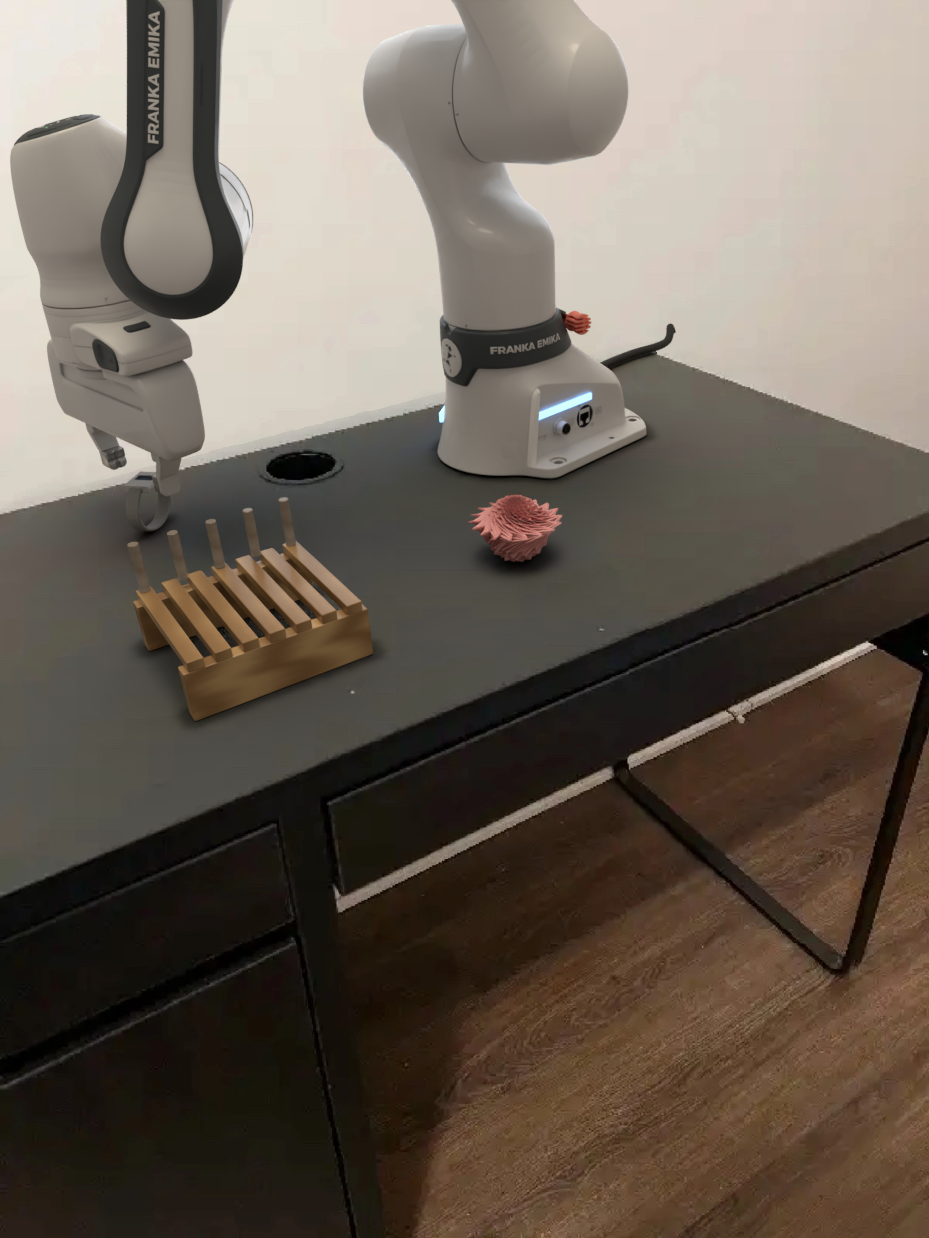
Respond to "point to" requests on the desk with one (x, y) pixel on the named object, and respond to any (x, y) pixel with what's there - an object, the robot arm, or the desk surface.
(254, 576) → the rack
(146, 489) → the wristwatch
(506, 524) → the flower
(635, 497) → the desk surface
